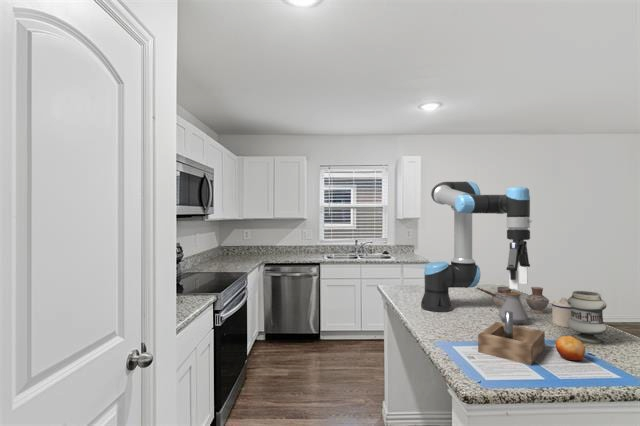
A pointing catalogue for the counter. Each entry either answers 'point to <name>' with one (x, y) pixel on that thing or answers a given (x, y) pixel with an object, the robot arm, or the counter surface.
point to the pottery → (534, 300)
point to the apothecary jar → (587, 316)
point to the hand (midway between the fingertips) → (518, 286)
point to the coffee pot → (511, 307)
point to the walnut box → (512, 343)
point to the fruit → (570, 348)
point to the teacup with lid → (561, 312)
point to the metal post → (509, 324)
